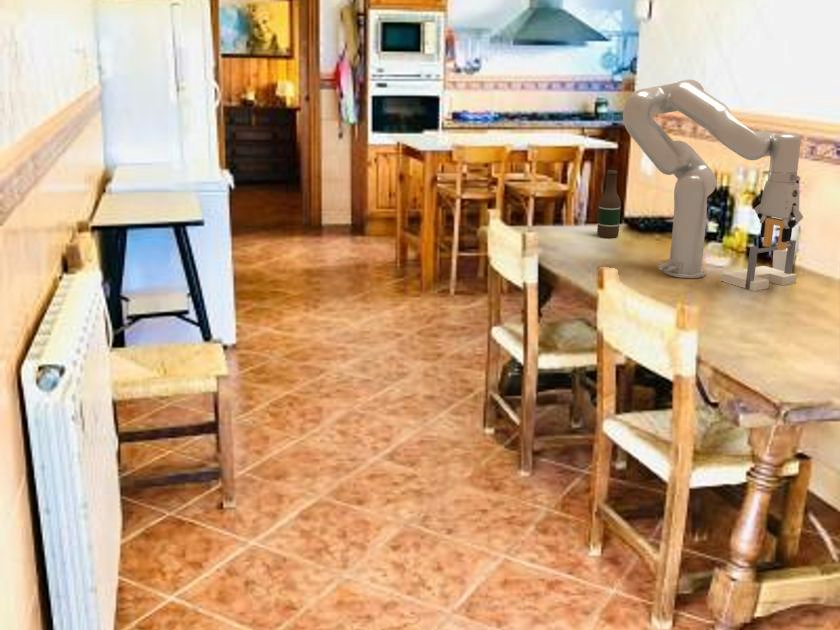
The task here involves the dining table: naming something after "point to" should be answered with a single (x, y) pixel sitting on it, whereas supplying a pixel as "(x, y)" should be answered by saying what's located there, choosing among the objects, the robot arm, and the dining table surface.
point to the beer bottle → (609, 209)
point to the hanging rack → (763, 271)
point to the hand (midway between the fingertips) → (775, 238)
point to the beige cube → (780, 259)
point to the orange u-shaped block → (769, 232)
